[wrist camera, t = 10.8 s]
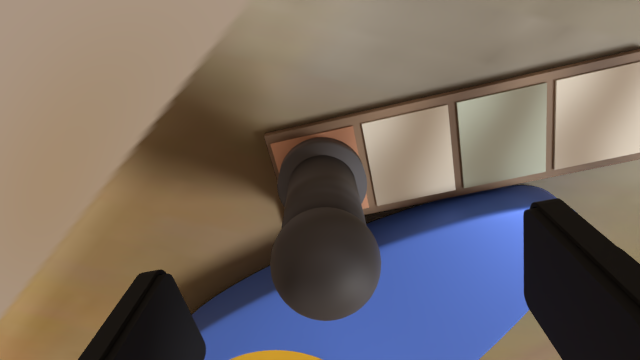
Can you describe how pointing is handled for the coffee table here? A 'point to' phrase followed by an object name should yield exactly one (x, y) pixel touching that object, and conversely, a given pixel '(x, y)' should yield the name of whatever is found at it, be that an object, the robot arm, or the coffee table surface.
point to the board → (488, 133)
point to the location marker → (398, 291)
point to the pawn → (324, 232)
